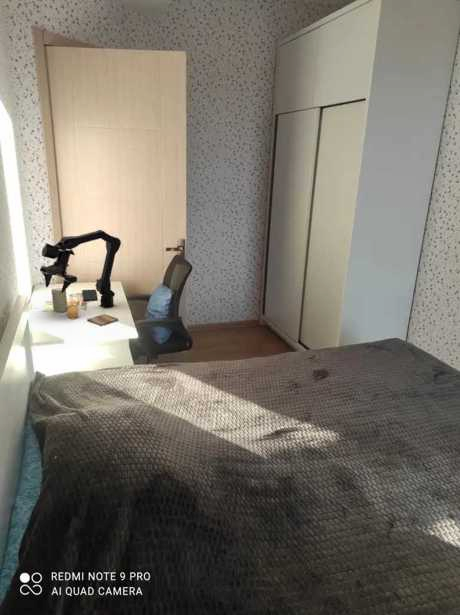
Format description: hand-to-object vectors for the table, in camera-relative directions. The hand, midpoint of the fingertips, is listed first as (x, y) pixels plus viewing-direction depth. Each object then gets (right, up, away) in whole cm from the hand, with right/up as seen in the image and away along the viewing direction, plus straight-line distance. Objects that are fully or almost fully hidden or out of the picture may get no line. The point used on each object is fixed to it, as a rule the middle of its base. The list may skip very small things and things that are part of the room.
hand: (54, 290), depth 236 cm
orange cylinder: (+9, -14, +2) cm, 17 cm away
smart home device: (+7, -3, +38) cm, 38 cm away
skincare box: (-1, -11, +11) cm, 16 cm away
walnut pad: (+25, -16, -1) cm, 30 cm away
